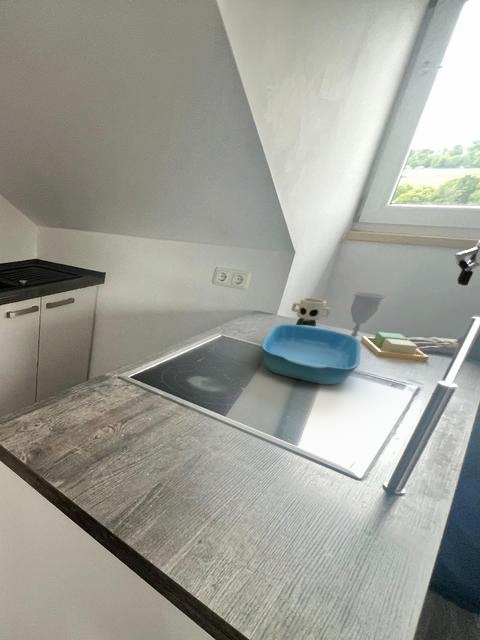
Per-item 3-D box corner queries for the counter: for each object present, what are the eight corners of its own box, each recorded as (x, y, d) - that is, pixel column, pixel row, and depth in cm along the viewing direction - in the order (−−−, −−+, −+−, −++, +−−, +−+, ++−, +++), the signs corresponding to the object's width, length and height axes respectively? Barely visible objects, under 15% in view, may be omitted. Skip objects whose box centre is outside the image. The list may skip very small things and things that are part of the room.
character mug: (282, 333, 142) (292, 299, 136) (287, 329, 146) (297, 295, 141) (318, 341, 134) (330, 305, 129) (323, 336, 138) (335, 301, 133)
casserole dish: (350, 398, 99) (360, 373, 96) (249, 374, 112) (256, 352, 109) (354, 354, 124) (362, 333, 121) (271, 338, 137) (277, 319, 134)
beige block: (404, 352, 123) (410, 340, 121) (412, 358, 119) (417, 346, 117) (380, 349, 125) (385, 338, 123) (386, 355, 121) (391, 343, 119)
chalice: (357, 345, 130) (378, 293, 123) (367, 353, 124) (389, 298, 117) (331, 343, 132) (349, 291, 125) (340, 350, 126) (359, 297, 119)
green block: (395, 345, 128) (400, 334, 126) (402, 350, 124) (407, 339, 122) (372, 342, 130) (377, 331, 129) (378, 348, 126) (383, 336, 125)
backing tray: (404, 346, 129) (407, 340, 128) (426, 363, 116) (429, 357, 116) (360, 341, 133) (362, 336, 132) (376, 357, 121) (379, 351, 120)
